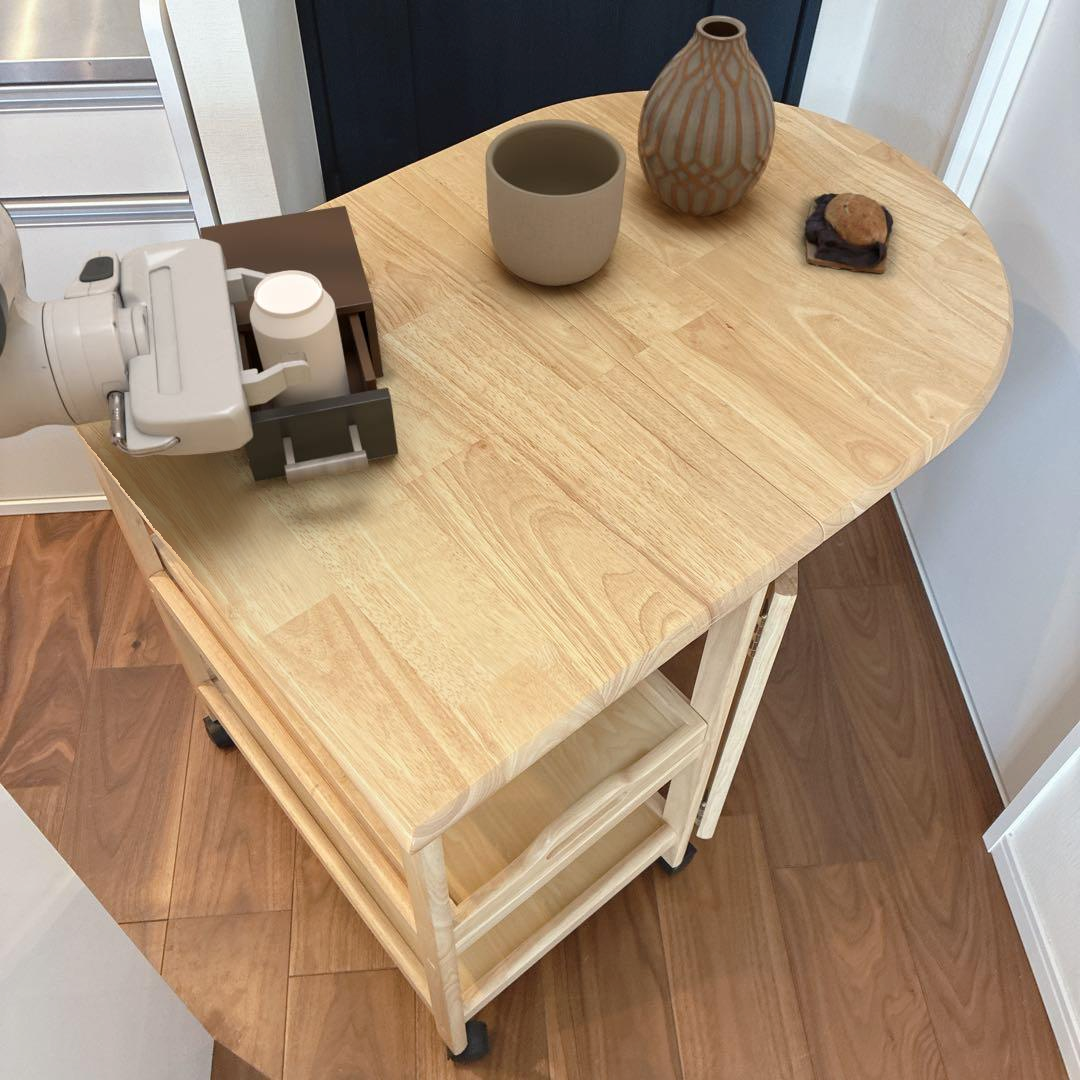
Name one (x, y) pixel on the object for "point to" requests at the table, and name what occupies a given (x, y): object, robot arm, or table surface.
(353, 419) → the drawer
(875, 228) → the bread roll
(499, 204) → the planter
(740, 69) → the vase
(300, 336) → the beverage can
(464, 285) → the table surface
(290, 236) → the cabinet
